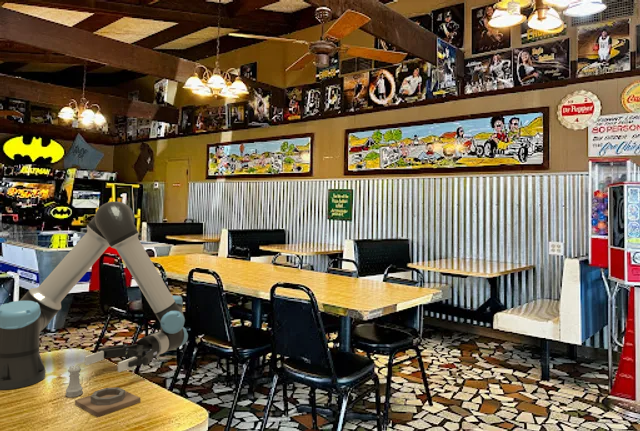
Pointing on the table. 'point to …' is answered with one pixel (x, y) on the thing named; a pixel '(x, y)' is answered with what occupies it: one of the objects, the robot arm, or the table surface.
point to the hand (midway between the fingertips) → (101, 364)
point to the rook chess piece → (74, 382)
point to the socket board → (106, 407)
